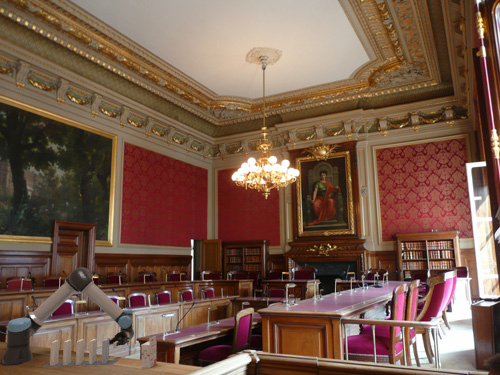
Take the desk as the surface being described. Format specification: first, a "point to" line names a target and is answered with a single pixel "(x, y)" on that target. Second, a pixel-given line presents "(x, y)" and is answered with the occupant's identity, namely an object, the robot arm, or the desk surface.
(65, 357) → the domino
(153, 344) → the ink cartridge box
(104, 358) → the slate domino
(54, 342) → the domino
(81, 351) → the domino
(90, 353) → the domino
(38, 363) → the desk surface
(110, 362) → the runway mat
